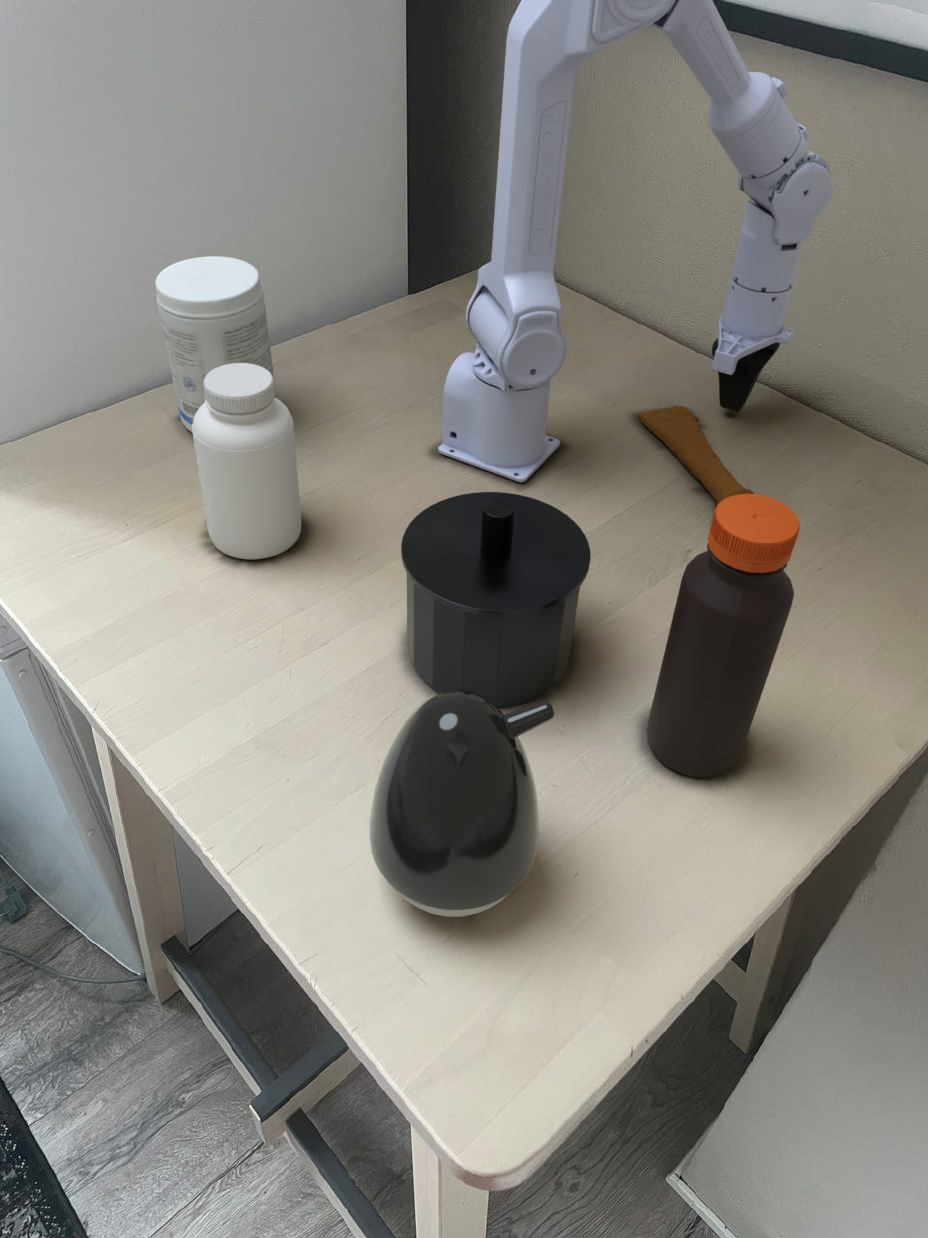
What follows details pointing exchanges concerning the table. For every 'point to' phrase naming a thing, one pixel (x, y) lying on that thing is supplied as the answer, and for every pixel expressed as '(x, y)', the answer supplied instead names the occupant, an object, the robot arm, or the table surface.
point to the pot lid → (495, 554)
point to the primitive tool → (692, 449)
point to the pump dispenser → (457, 804)
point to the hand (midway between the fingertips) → (731, 406)
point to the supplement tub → (210, 323)
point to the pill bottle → (247, 463)
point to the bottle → (723, 637)
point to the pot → (489, 648)
